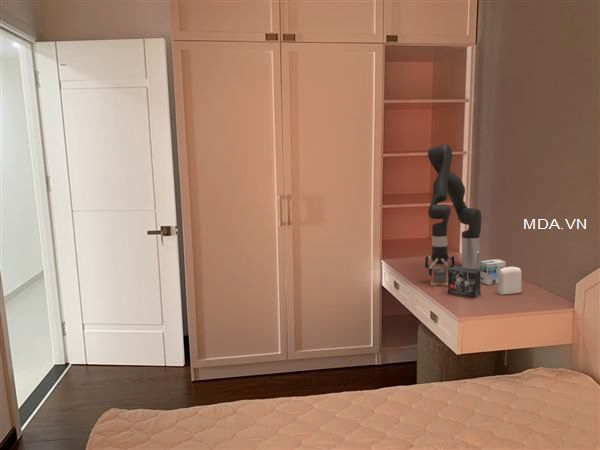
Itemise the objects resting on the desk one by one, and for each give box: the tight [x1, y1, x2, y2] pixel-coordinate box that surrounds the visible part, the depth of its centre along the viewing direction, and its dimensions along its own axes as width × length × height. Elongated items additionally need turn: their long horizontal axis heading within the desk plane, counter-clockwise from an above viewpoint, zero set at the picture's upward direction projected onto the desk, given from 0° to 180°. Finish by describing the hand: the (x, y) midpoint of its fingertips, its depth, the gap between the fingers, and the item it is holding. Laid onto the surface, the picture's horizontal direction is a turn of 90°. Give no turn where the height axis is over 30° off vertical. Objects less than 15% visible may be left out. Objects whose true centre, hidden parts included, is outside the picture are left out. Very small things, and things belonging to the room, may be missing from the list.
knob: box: [433, 266, 447, 283], centre depth 240 cm, size 6×6×7 cm
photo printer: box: [497, 266, 522, 295], centre depth 220 cm, size 10×4×12 cm, turn 96°
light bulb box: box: [479, 258, 507, 286], centre depth 238 cm, size 11×7×11 cm, turn 105°
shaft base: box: [429, 277, 448, 288], centre depth 241 cm, size 11×11×5 cm
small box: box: [447, 265, 481, 299], centre depth 222 cm, size 13×7×12 cm, turn 47°
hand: (439, 275), depth 241 cm, fingers open, 8 cm apart
